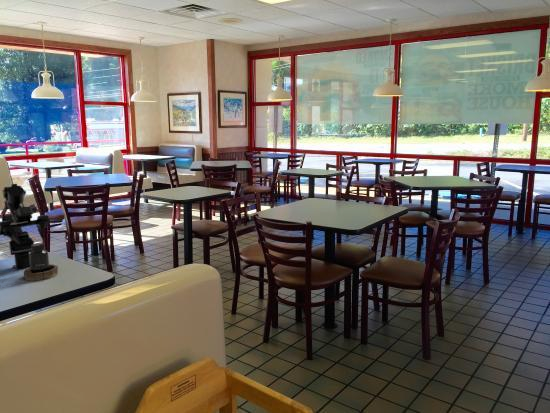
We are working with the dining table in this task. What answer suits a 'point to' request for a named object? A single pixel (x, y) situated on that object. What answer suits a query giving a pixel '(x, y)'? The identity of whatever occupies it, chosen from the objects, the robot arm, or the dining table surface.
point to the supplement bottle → (39, 258)
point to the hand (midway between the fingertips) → (31, 240)
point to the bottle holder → (41, 274)
